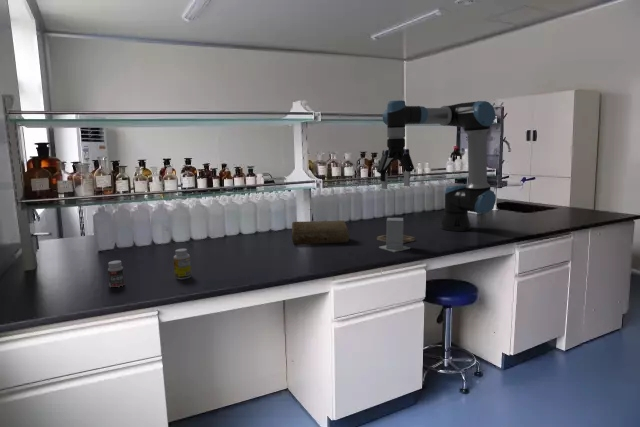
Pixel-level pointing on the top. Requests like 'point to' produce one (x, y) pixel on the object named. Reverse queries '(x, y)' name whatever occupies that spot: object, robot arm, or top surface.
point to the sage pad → (394, 249)
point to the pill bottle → (115, 274)
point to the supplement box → (394, 233)
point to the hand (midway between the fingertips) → (395, 187)
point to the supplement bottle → (182, 264)
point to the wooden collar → (406, 239)
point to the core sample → (319, 232)
